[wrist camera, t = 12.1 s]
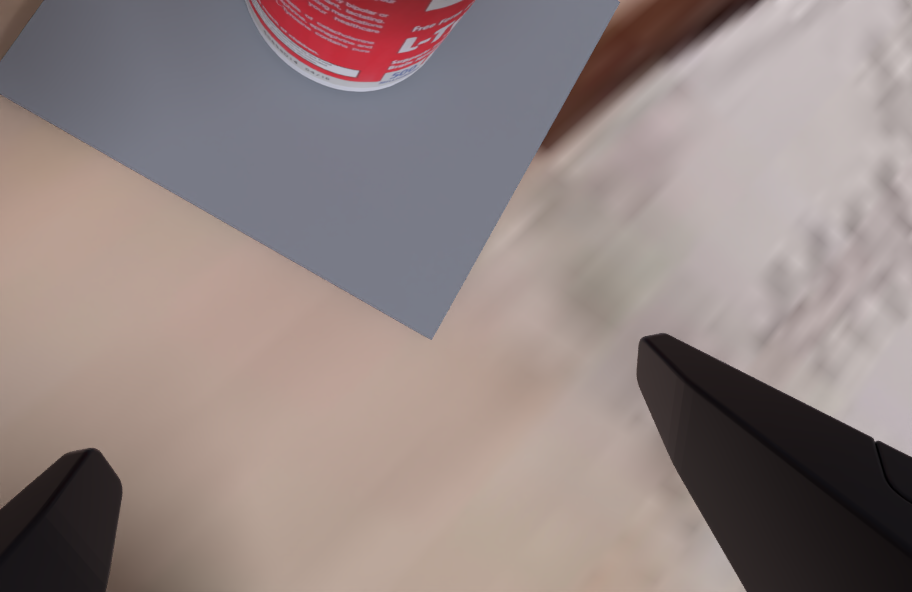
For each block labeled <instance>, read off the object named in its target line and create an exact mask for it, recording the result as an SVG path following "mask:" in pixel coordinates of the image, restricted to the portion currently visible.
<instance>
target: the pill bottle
mask: <svg viewBox="0 0 912 592" xmlns="http://www.w3.org/2000/svg"><path fill="white" fill-rule="evenodd" d="M245 2H246V5H247V8H248V11H249V13H250V15H251V17H252V19H253V21H254V23H255V25H256V27H257V29H258V30H259V32H260V34H261V35H262V37H263V38H264V40H265V41H266V42H267V44H268V45H269V46H270V47H271V48H272V50H273V51H274V52H275V53H276V54H277V55H278V56H279V57H280V58H281V59H282V60H283V61H284V62H285V63H287V64H288V65H289V66H290V67H292V68H293V69H294V70H296V71H297V72H299V73H300V74H302V75H303V76H305V77H307V78H309V79H311V80H313V81H315V82H317V83H320V84H322V85H325V86H328V87H331V88H335V89H339V90H345V91H355V92H366V91H374V90H379V89H383V88H387V87H390V86H392V85H394V84H397V83H399V82H401V81H403V80H404V79H406V78H408V77H409V76H411V75H412V74H413V73H414V72H416V71H417V70H418V69H419V68H420V67H422V66H423V65H424V64H425V62H426V61H427V60H428V59H429V58H430V57H431V56H432V54H433V53H434V52H435V51H436V49H437V48H438V47H439V45H440V44H441V43H442V42H443V40H444V39H445V38H446V37H447V35H448V34H449V33H450V32H451V30H452V29H453V28H454V27H455V25H456V24H457V23H458V22H459V21H460V19H461V18H462V16H463V15H464V14H465V13H466V12H467V10H468V9H469V8H470V6H471V5H472V4H473V3H474V2H475V0H245Z"/></svg>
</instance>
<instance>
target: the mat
mask: <svg viewBox="0 0 912 592" xmlns="http://www.w3.org/2000/svg"><path fill="white" fill-rule="evenodd" d="M619 3H620V2H619V1H618V0H475V2H474V3H473V4H472V5H471V6H470V8H469V9H468V10H467V12H466V13H465V14H464V15H463V16H462V18H461V19H460V21H459V22H458V23H457V24H456V25H455V27H454V28H453V29H452V30H451V32H450V33H449V34H448V35H447V37H446V38H445V39H444V40H443V42H442V43H441V44H440V45H439V47H438V48H437V49H436V51H435V52H434V53H433V54H432V56H431V57H430V58H429V59H428V60H427V61H426V62H425V64H424V65H423V66H422V67H420V68H419V69H418V70H417V71H416V72H414V73H413V74H412V75H411V76H409V77H408V78H406V79H404V80H403V81H401V82H399V83H397V84H394V85H392V86H390V87H387V88H383V89H379V90H374V91H366V92H355V91H345V90H339V89H335V88H331V87H328V86H325V85H322V84H320V83H317V82H315V81H313V80H311V79H309V78H307V77H305V76H303V75H302V74H300V73H299V72H297V71H296V70H294V69H293V68H292V67H290V66H289V65H288V64H287V63H285V62H284V61H283V60H282V59H281V58H280V57H279V56H278V55H277V54H276V53H275V52H274V51H273V50H272V48H271V47H270V46H269V45H268V44H267V42H266V41H265V40H264V38H263V37H262V35H261V34H260V32H259V30H258V29H257V27H256V25H255V23H254V21H253V19H252V17H251V15H250V13H249V11H248V8H247V5H246V2H245V0H44V1H43V2H42V4H41V5H40V6H39V8H38V9H37V11H36V12H35V13H34V15H33V16H32V18H31V19H30V20H29V22H28V23H27V25H26V26H25V28H24V29H23V30H22V32H21V33H20V35H19V36H18V37H17V39H16V40H15V42H14V43H13V44H12V46H11V47H10V49H9V50H8V52H7V53H6V54H5V56H4V57H3V59H2V60H1V61H0V95H2V96H4V97H6V98H7V99H9V100H11V101H13V102H14V103H16V104H18V105H20V106H21V107H23V108H25V109H27V110H28V111H30V112H32V113H34V114H35V115H37V116H39V117H41V118H42V119H44V120H46V121H48V122H49V123H51V124H53V125H55V126H57V127H58V128H60V129H62V130H64V131H65V132H67V133H69V134H71V135H72V136H74V137H76V138H78V139H79V140H81V141H83V142H85V143H86V144H88V145H90V146H92V147H93V148H95V149H97V150H99V151H100V152H102V153H104V154H106V155H107V156H109V157H111V158H113V159H114V160H116V161H118V162H120V163H121V164H123V165H125V166H127V167H128V168H130V169H132V170H134V171H135V172H137V173H139V174H141V175H142V176H144V177H146V178H148V179H150V180H151V181H153V182H155V183H157V184H158V185H160V186H162V187H164V188H165V189H167V190H169V191H171V192H172V193H174V194H176V195H178V196H179V197H181V198H183V199H185V200H186V201H188V202H190V203H192V204H193V205H195V206H197V207H199V208H200V209H202V210H204V211H206V212H207V213H209V214H211V215H213V216H214V217H216V218H218V219H220V220H221V221H223V222H225V223H227V224H228V225H230V226H232V227H234V228H235V229H237V230H239V231H241V232H243V233H244V234H246V235H248V236H250V237H251V238H253V239H255V240H257V241H258V242H260V243H262V244H264V245H265V246H267V247H269V248H271V249H272V250H274V251H276V252H278V253H279V254H281V255H283V256H285V257H286V258H288V259H290V260H292V261H293V262H295V263H297V264H299V265H300V266H302V267H304V268H306V269H307V270H309V271H311V272H313V273H314V274H316V275H318V276H320V277H321V278H323V279H325V280H327V281H328V282H330V283H332V284H334V285H336V286H337V287H339V288H341V289H343V290H344V291H346V292H348V293H350V294H351V295H353V296H355V297H357V298H358V299H360V300H362V301H364V302H365V303H367V304H369V305H371V306H372V307H374V308H376V309H378V310H379V311H381V312H383V313H385V314H386V315H388V316H390V317H392V318H393V319H395V320H397V321H399V322H400V323H402V324H404V325H406V326H407V327H409V328H411V329H413V330H414V331H416V332H418V333H420V334H421V335H423V336H425V337H427V338H429V339H431V340H432V338H433V337H434V335H435V333H436V331H437V329H438V328H439V326H440V324H441V322H442V320H443V319H444V317H445V315H446V313H447V312H448V310H449V308H450V306H451V304H452V303H453V301H454V299H455V297H456V295H457V294H458V292H459V290H460V288H461V286H462V285H463V283H464V281H465V279H466V277H467V276H468V274H469V272H470V270H471V269H472V267H473V265H474V263H475V261H476V260H477V258H478V256H479V254H480V252H481V251H482V249H483V247H484V245H485V243H486V242H487V240H488V238H489V236H490V234H491V233H492V231H493V229H494V227H495V226H496V224H497V222H498V220H499V218H500V217H501V215H502V213H503V211H504V209H505V208H506V206H507V204H508V202H509V200H510V199H511V197H512V195H513V193H514V191H515V190H516V188H517V186H518V184H519V182H520V181H521V179H522V177H523V175H524V174H525V172H526V170H527V168H528V166H529V165H530V163H531V161H532V159H533V157H534V156H535V154H536V152H537V150H538V148H539V147H540V145H541V143H542V141H543V139H544V138H545V136H546V134H547V132H548V131H549V129H550V127H551V125H552V123H553V122H554V120H555V118H556V116H557V114H558V113H559V111H560V109H561V107H562V105H563V104H564V102H565V100H566V98H567V96H568V95H569V93H570V91H571V89H572V88H573V86H574V84H575V82H576V80H577V79H578V77H579V75H580V73H581V71H582V70H583V68H584V66H585V64H586V62H587V61H588V59H589V57H590V55H591V53H592V52H593V50H594V48H595V46H596V45H597V43H598V41H599V39H600V37H601V36H602V34H603V32H604V30H605V28H606V27H607V25H608V23H609V21H610V19H611V18H612V16H613V14H614V12H615V10H616V9H617V7H618V5H619Z"/></svg>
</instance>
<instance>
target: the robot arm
mask: <svg viewBox="0 0 912 592" xmlns="http://www.w3.org/2000/svg"><path fill="white" fill-rule="evenodd" d="M637 381H638V385H639V388H640V390H641V392H642V395H643V397H644V399H645V401H646V404H647V406H648V408H649V411H650V413H651V415H652V418H653V420H654V422H655V424H656V427H657V429H658V431H659V434H660V436H661V438H662V440H663V443H664V445H665V447H666V450H667V452H668V454H669V456H670V458H671V460H672V463H673V465H674V466H675V468H676V470H677V472H678V474H679V476H680V477H681V479H682V481H683V483H684V484H685V486H686V488H687V489H688V491H689V493H690V495H691V496H692V498H693V500H694V502H695V503H696V505H697V507H698V508H699V510H700V512H701V514H702V515H703V517H704V519H705V521H706V522H707V524H708V526H709V527H710V529H711V531H712V533H713V534H714V536H715V538H716V540H717V541H718V543H719V545H720V546H721V548H722V550H723V552H724V553H725V555H726V557H727V559H728V560H729V562H730V564H731V565H732V567H733V569H734V571H735V572H736V574H737V576H738V577H739V579H740V581H741V583H742V584H743V586H744V588H745V590H746V591H747V592H912V457H911V456H908V455H906V454H904V453H902V452H900V451H898V450H896V449H895V448H893V447H891V446H889V445H887V444H885V443H883V442H881V441H876V442H875V441H874V439H873V438H872V437H870V436H868V435H866V434H864V433H862V432H860V431H859V430H857V429H855V428H853V427H851V426H849V425H847V424H845V423H843V422H841V421H839V420H837V419H835V418H833V417H831V416H829V415H827V414H825V413H823V412H821V411H819V410H817V409H815V408H813V407H811V406H809V405H807V404H805V403H803V402H801V401H799V400H797V399H795V398H793V397H791V396H789V395H787V394H785V393H783V392H781V391H779V390H777V389H775V388H773V387H771V386H769V385H767V384H765V383H763V382H761V381H759V380H757V379H756V378H754V377H752V376H750V375H748V374H746V373H744V372H742V371H740V370H738V369H736V368H734V367H732V366H730V365H728V364H726V363H724V362H722V361H720V360H718V359H716V358H714V357H712V356H710V355H708V354H706V353H704V352H702V351H700V350H698V349H696V348H694V347H692V346H690V345H688V344H686V343H684V342H682V341H680V340H678V339H676V338H674V337H672V336H670V335H668V334H665V333H659V334H654V335H649V336H645V337H643V338H641V339H640V342H639V347H638V360H637ZM121 500H122V484H121V481H120V479H119V477H118V476H117V474H116V473H115V472H114V470H113V469H112V467H111V466H110V465H109V463H108V462H107V460H106V459H105V457H104V456H103V455H102V453H101V452H100V451H99V450H97V449H95V448H87V449H82V450H77V451H72V452H69V453H66V454H64V455H63V456H62V457H61V458H59V459H58V460H57V461H56V462H55V463H54V464H52V465H51V466H50V467H49V468H48V469H47V470H46V471H44V472H43V473H42V474H41V475H40V476H39V477H37V478H36V479H35V480H34V481H33V482H32V483H30V484H29V485H28V486H27V487H26V488H25V489H23V490H22V491H21V492H20V493H19V494H18V495H17V496H15V497H14V498H13V499H12V500H11V501H10V502H8V503H7V504H6V505H5V506H4V507H3V508H1V509H0V592H106V588H107V583H108V578H109V573H110V567H111V561H112V555H113V549H114V543H115V537H116V530H117V524H118V518H119V512H120V506H121Z"/></svg>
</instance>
